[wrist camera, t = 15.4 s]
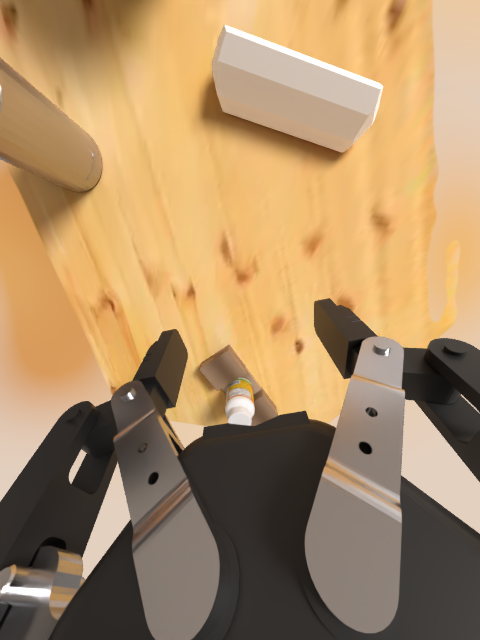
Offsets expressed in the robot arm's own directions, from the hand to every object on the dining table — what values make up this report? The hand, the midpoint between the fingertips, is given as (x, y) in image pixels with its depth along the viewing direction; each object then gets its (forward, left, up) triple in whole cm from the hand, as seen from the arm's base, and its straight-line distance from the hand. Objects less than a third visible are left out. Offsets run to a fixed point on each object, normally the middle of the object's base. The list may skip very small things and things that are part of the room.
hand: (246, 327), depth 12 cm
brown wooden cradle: (+9, -20, -27) cm, 34 cm away
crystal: (-5, +28, -27) cm, 39 cm away
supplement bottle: (+9, -20, -26) cm, 34 cm away
